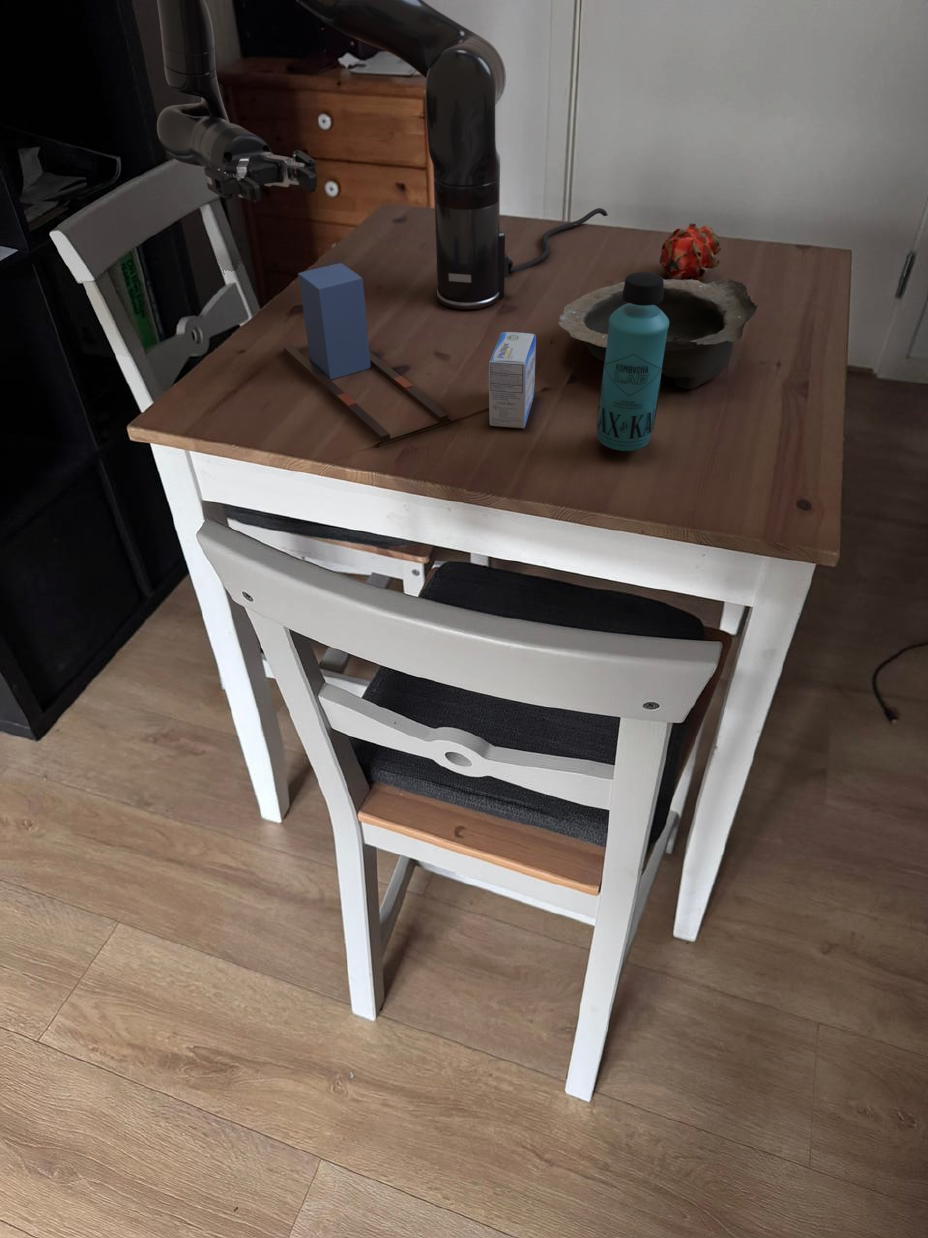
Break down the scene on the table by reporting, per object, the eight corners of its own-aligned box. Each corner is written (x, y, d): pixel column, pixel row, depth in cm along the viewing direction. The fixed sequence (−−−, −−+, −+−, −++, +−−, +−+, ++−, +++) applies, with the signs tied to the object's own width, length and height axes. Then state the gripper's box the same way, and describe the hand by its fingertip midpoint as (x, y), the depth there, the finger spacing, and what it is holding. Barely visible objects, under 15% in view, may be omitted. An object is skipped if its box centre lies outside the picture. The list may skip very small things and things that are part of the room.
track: (347, 338, 126) (346, 328, 125) (451, 422, 109) (451, 412, 108) (282, 356, 123) (280, 346, 122) (379, 447, 105) (378, 436, 104)
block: (350, 351, 122) (341, 262, 114) (371, 368, 118) (362, 277, 110) (310, 362, 120) (297, 272, 112) (330, 380, 116) (318, 288, 108)
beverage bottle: (589, 435, 106) (604, 265, 93) (644, 432, 106) (668, 262, 93) (600, 465, 101) (618, 291, 88) (657, 461, 102) (684, 288, 88)
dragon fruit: (709, 276, 145) (669, 310, 139) (674, 236, 144) (632, 269, 139) (743, 242, 137) (702, 277, 132) (706, 199, 137) (663, 233, 131)
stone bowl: (775, 398, 111) (786, 328, 105) (575, 422, 111) (574, 353, 105) (719, 312, 129) (727, 247, 123) (547, 332, 129) (545, 269, 123)
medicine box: (524, 430, 107) (527, 362, 101) (488, 426, 108) (488, 359, 102) (534, 398, 113) (537, 332, 107) (499, 395, 114) (500, 329, 108)
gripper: (179, 135, 118) (226, 166, 107) (280, 118, 123) (333, 146, 113) (192, 195, 123) (237, 231, 112) (288, 177, 128) (340, 209, 118)
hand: (285, 188), depth 113 cm, fingers open, 7 cm apart
